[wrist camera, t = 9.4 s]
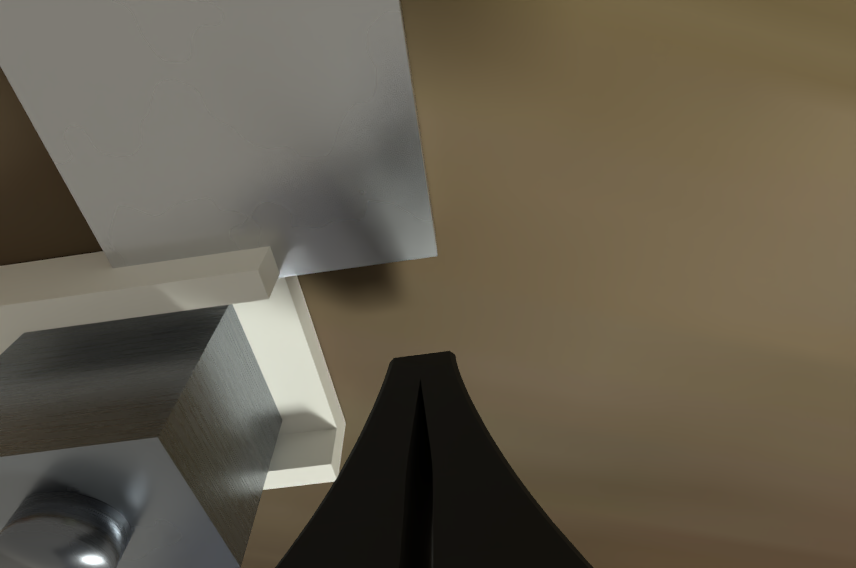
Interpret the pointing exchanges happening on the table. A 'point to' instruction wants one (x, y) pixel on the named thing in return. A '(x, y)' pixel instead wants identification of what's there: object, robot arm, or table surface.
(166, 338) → the block
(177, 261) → the rail
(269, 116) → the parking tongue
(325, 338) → the table surface
